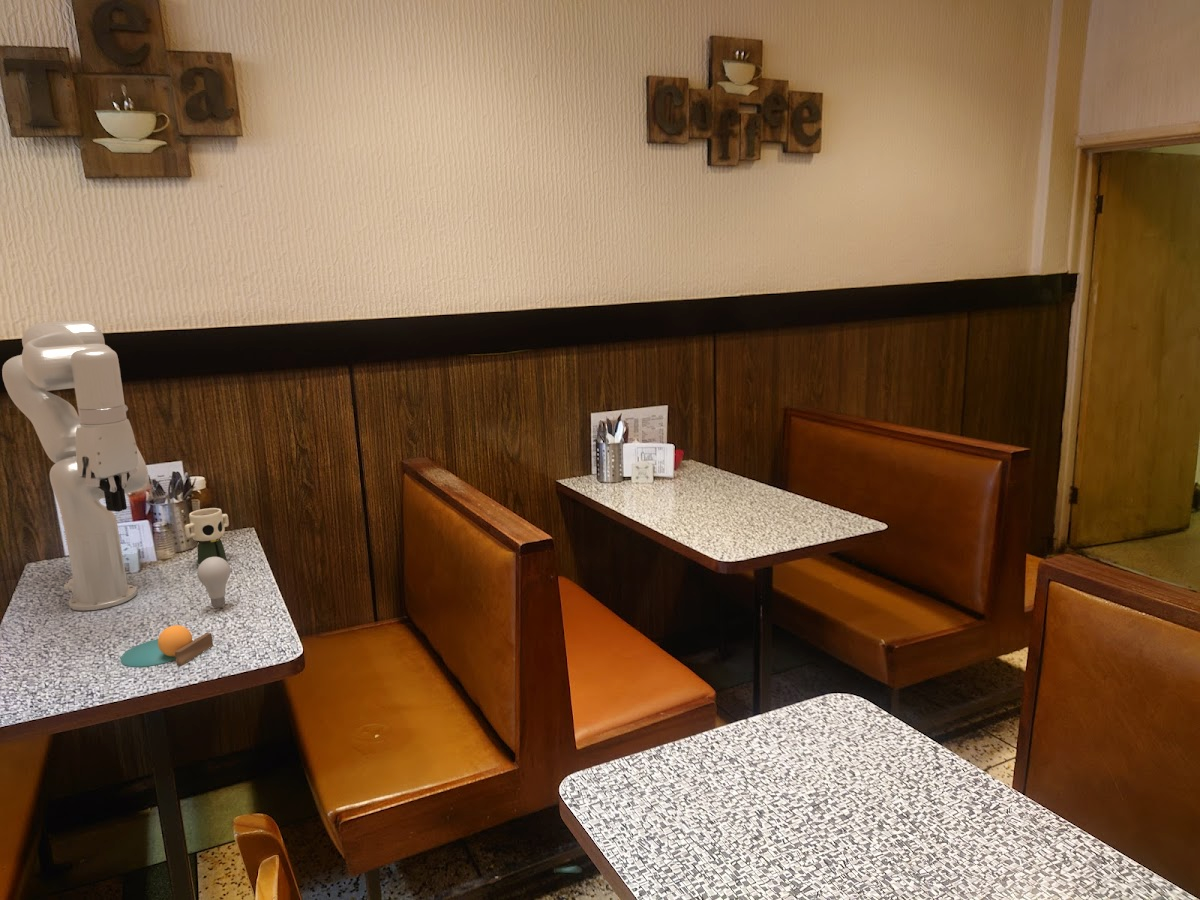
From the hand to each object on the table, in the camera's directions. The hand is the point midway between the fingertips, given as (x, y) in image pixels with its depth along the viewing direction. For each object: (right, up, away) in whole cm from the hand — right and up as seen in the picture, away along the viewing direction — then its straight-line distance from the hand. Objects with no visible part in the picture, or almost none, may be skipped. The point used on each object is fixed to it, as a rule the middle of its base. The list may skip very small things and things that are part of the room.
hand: (116, 509), depth 158 cm
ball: (+16, -23, -9) cm, 29 cm away
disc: (+12, -25, -7) cm, 29 cm away
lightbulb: (+14, -21, +12) cm, 28 cm away
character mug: (-1, -16, +40) cm, 44 cm away
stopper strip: (+19, -25, -9) cm, 33 cm away
